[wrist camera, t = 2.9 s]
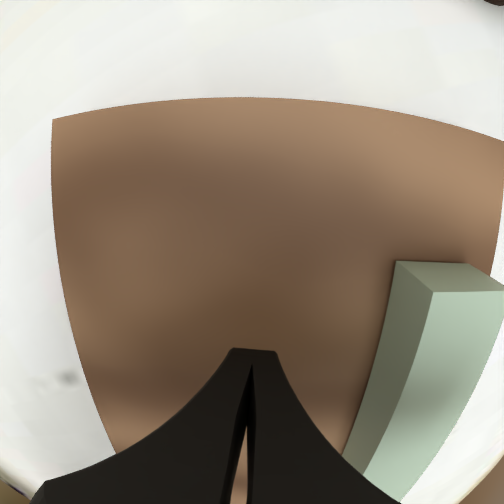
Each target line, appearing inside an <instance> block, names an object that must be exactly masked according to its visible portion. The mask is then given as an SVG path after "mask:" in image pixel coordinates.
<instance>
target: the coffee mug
mask: <svg viewBox="0 0 504 504" xmlns="http://www.w3.org/2000/svg"><path fill="white" fill-rule="evenodd" d="M484 1H486V2H489V3H491V4H494V5H498V6H504V0H484Z"/></svg>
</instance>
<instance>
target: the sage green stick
mask: <svg viewBox="0 0 504 504" xmlns="http://www.w3.org/2000/svg"><path fill="white" fill-rule="evenodd" d="M503 318H504V285H502V284H501V283H499V282H498V281H496V280H495V279H493V278H491V277H490V276H488V275H487V274H485V273H483V272H482V271H480V270H478V269H477V268H475V267H473V266H472V265H470V264H466V263H441V262H416V261H396V264H395V271H394V276H393V282H392V287H391V293H390V298H389V302H388V307H387V312H386V316H385V321H384V325H383V329H382V334H381V338H380V342H379V346H378V349H377V353H376V357H375V360H374V364H373V368H372V371H371V374H370V378H369V381H368V384H367V388H366V391H365V394H364V397H363V400H362V403H361V406H360V409H359V412H358V415H357V418H356V420H355V423H354V426H353V429H352V431H351V434H350V436H349V439H348V442H347V444H346V447H345V449H344V452H343V454H342V457H343V458H344V459H345V460H346V461H347V462H348V463H350V464H351V465H352V466H353V467H354V468H355V469H356V470H357V471H359V472H360V473H361V474H362V475H363V476H364V477H365V478H367V479H368V480H369V481H370V482H371V483H372V484H374V485H375V486H376V487H378V488H379V489H380V490H382V491H383V492H385V493H386V494H387V495H389V496H390V497H392V498H393V499H395V500H396V501H398V502H400V501H401V500H402V499H403V497H404V496H405V495H406V494H407V493H408V491H409V490H410V489H411V488H412V487H413V485H414V484H415V483H416V481H417V480H418V479H419V478H420V476H421V475H422V474H423V472H424V471H425V470H426V468H427V467H428V465H429V464H430V463H431V461H432V460H433V458H434V457H435V456H436V454H437V453H438V451H439V450H440V448H441V447H442V445H443V443H444V442H445V440H446V439H447V437H448V436H449V434H450V432H451V431H452V429H453V427H454V426H455V424H456V422H457V421H458V419H459V417H460V415H461V414H462V412H463V410H464V408H465V406H466V404H467V403H468V401H469V399H470V397H471V395H472V393H473V391H474V389H475V387H476V385H477V383H478V380H479V378H480V376H481V374H482V372H483V370H484V367H485V365H486V363H487V360H488V358H489V356H490V353H491V351H492V348H493V346H494V343H495V340H496V338H497V335H498V332H499V329H500V327H501V324H502V321H503Z"/></svg>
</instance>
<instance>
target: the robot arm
mask: <svg viewBox="0 0 504 504" xmlns="http://www.w3.org/2000/svg"><path fill="white" fill-rule="evenodd" d="M246 427H247V501H246V504H401V503H400V502H398V501H396V500H395V499H393V498H392V497H390V496H389V495H387V494H386V493H385V492H383V491H382V490H380V489H379V488H378V487H376V486H375V485H374V484H372V483H371V482H370V481H369V480H368V479H367V478H365V477H364V476H363V475H362V474H361V473H360V472H359V471H357V470H356V469H355V468H354V467H353V466H352V465H351V464H350V463H348V462H347V461H346V460H345V459H344V458H343V457H342V456H341V455H340V454H339V452H338V451H337V450H336V449H335V448H334V447H333V446H332V445H331V444H330V443H329V441H328V440H327V439H326V438H325V437H324V435H323V434H322V433H321V432H320V430H319V429H318V428H317V427H316V425H315V424H314V422H313V421H312V420H311V418H310V417H309V415H308V414H307V412H306V411H305V409H304V408H303V406H302V404H301V403H300V401H299V400H298V398H297V396H296V394H295V392H294V391H293V389H292V387H291V385H290V383H289V381H288V379H287V377H286V375H285V373H284V371H283V368H282V366H281V363H280V361H279V358H278V354H277V353H276V352H275V351H270V350H257V349H246V348H235V347H233V348H232V349H230V350H229V352H228V354H227V355H226V357H225V359H224V360H223V362H222V363H221V364H220V366H219V367H218V369H217V370H216V371H215V373H214V374H213V375H212V376H211V377H210V379H209V380H208V381H207V382H206V383H205V385H204V386H203V387H202V388H201V389H200V390H199V391H198V392H197V393H196V394H195V395H194V396H193V398H192V399H191V400H190V401H189V402H188V403H187V404H186V405H185V406H184V407H182V408H181V409H180V410H179V411H178V412H177V413H176V414H175V415H174V416H172V417H171V418H170V419H169V420H167V421H166V422H165V423H164V424H162V425H161V426H160V427H159V428H157V429H156V430H154V431H153V432H151V433H150V434H149V435H147V436H146V437H144V438H143V439H141V440H140V441H138V442H137V443H135V444H133V445H132V446H130V447H128V448H127V449H125V450H123V451H121V452H119V453H117V454H115V455H113V456H111V457H109V458H107V459H105V460H103V461H101V462H99V463H97V464H94V465H92V466H90V467H87V468H85V469H82V470H79V471H76V472H73V473H70V474H67V475H64V476H61V477H58V478H54V479H51V480H47V481H45V482H44V483H43V484H42V486H41V487H40V488H39V489H38V491H37V492H36V493H35V495H34V496H33V498H32V500H31V501H30V503H29V504H230V502H231V494H232V489H233V484H234V479H235V475H236V471H237V466H238V462H239V458H240V453H241V449H242V445H243V440H244V436H245V431H246Z"/></svg>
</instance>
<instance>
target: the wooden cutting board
mask: <svg viewBox="0 0 504 504" xmlns="http://www.w3.org/2000/svg"><path fill="white" fill-rule="evenodd" d="M51 186H52V206H53V220H54V230H55V240H56V248H57V256H58V263H59V269H60V275H61V281H62V287H63V292H64V297H65V302H66V307H67V311H68V316H69V320H70V324H71V328H72V332H73V336H74V340H75V344H76V347H77V351H78V354H79V358H80V361H81V364H82V368H83V371H84V374H85V377H86V380H87V383H88V386H89V389H90V392H91V395H92V397H93V400H94V403H95V405H96V408H97V411H98V413H99V416H100V418H101V421H102V423H103V425H104V428H105V430H106V432H107V435H108V437H109V439H110V442H111V444H112V446H113V448H114V450H115V452H116V454H117V453H119V452H121V451H123V450H125V449H127V448H128V447H130V446H132V445H133V444H135V443H137V442H138V441H140V440H141V439H143V438H144V437H146V436H147V435H149V434H150V433H151V432H153V431H154V430H156V429H157V428H159V427H160V426H161V425H162V424H164V423H165V422H166V421H167V420H169V419H170V418H171V417H172V416H174V415H175V414H176V413H177V412H178V411H179V410H180V409H181V408H182V407H184V406H185V405H186V404H187V403H188V402H189V401H190V400H191V399H192V398H193V396H194V395H195V394H196V393H197V392H198V391H199V390H200V389H201V388H202V387H203V386H204V385H205V383H206V382H207V381H208V380H209V379H210V377H211V376H212V375H213V374H214V373H215V371H216V370H217V369H218V367H219V366H220V364H221V363H222V362H223V360H224V359H225V357H226V355H227V354H228V352H229V350H230V349H232V348H233V347H235V348H246V349H257V350H270V351H275V352H276V353H277V354H278V358H279V361H280V363H281V366H282V368H283V371H284V373H285V375H286V377H287V379H288V381H289V383H290V385H291V387H292V389H293V391H294V392H295V394H296V396H297V398H298V400H299V401H300V403H301V404H302V406H303V408H304V409H305V411H306V412H307V414H308V415H309V417H310V418H311V420H312V421H313V422H314V424H315V425H316V427H317V428H318V429H319V430H320V432H321V433H322V434H323V435H324V437H325V438H326V439H327V440H328V441H329V443H330V444H331V445H332V446H333V447H334V448H335V449H336V450H337V451H338V452H339V454H340V455H341V456H342V454H343V452H344V449H345V447H346V444H347V442H348V439H349V436H350V434H351V431H352V429H353V426H354V423H355V420H356V418H357V415H358V412H359V409H360V406H361V403H362V400H363V397H364V394H365V391H366V388H367V384H368V381H369V378H370V374H371V371H372V368H373V364H374V360H375V357H376V353H377V349H378V346H379V342H380V338H381V334H382V329H383V325H384V321H385V316H386V312H387V307H388V302H389V298H390V293H391V287H392V282H393V276H394V271H395V264H396V261H416V262H441V263H466V264H470V265H472V266H473V267H475V268H477V269H478V270H480V271H482V272H483V273H485V274H487V275H488V276H490V273H491V269H492V264H493V260H494V255H495V249H496V244H497V238H498V232H499V225H500V218H501V209H502V200H503V188H504V141H501V140H498V139H496V138H493V137H490V136H487V135H484V134H481V133H478V132H474V131H471V130H468V129H465V128H461V127H458V126H454V125H450V124H447V123H443V122H439V121H435V120H431V119H427V118H423V117H418V116H414V115H409V114H404V113H399V112H394V111H388V110H383V109H377V108H371V107H364V106H357V105H350V104H342V103H334V102H324V101H313V100H301V99H284V98H254V97H228V98H198V99H181V100H169V101H158V102H149V103H140V104H132V105H125V106H118V107H112V108H106V109H100V110H94V111H89V112H84V113H79V114H74V115H70V116H65V117H61V118H57V119H53V121H52V141H51ZM246 501H247V427H246V431H245V436H244V440H243V445H242V449H241V453H240V458H239V462H238V466H237V471H236V475H235V479H234V484H233V489H232V494H231V502H230V504H246Z"/></svg>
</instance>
